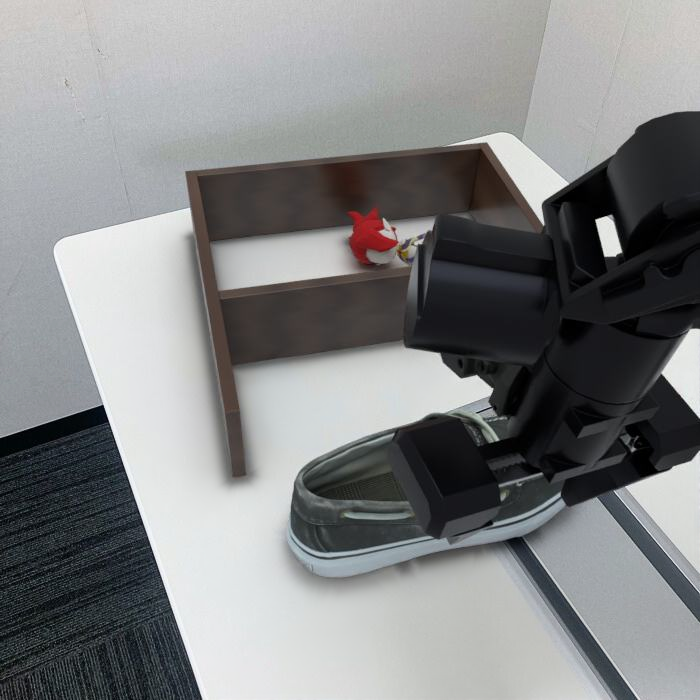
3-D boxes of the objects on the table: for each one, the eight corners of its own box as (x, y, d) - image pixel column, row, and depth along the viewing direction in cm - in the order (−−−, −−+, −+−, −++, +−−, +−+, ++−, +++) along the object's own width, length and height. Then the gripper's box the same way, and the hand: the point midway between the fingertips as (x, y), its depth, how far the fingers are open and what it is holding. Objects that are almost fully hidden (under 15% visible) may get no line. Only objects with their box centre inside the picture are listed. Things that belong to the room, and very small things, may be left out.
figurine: (454, 303, 82) (325, 270, 85) (469, 271, 88) (349, 241, 92) (465, 250, 78) (330, 217, 81) (480, 221, 85) (355, 191, 88)
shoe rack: (474, 204, 96) (487, 141, 89) (599, 413, 73) (627, 349, 66) (193, 236, 89) (185, 170, 83) (232, 477, 66) (224, 412, 60)
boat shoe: (618, 495, 66) (657, 424, 59) (323, 630, 57) (325, 565, 50) (548, 412, 73) (575, 338, 65) (271, 521, 63) (267, 449, 56)
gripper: (644, 239, 47) (559, 398, 58) (371, 285, 40) (334, 455, 51) (771, 369, 40) (647, 520, 51) (469, 451, 34) (402, 604, 45)
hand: (509, 518), depth 50 cm, fingers open, 9 cm apart
